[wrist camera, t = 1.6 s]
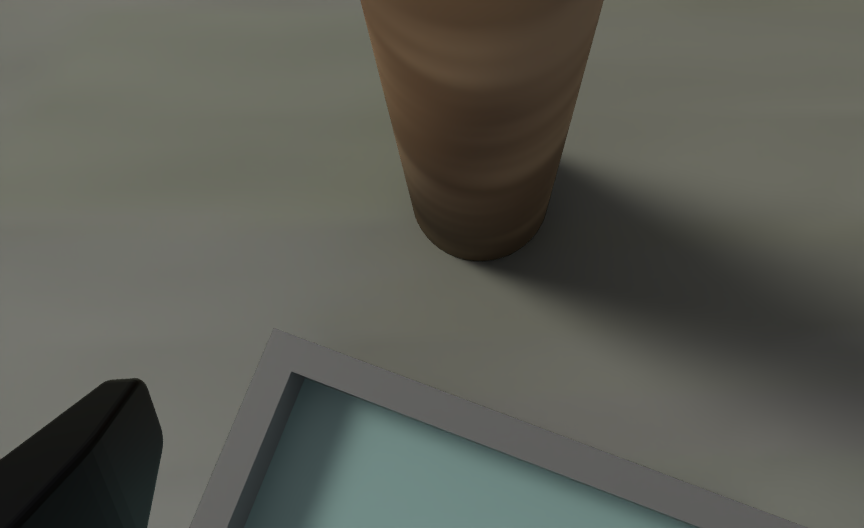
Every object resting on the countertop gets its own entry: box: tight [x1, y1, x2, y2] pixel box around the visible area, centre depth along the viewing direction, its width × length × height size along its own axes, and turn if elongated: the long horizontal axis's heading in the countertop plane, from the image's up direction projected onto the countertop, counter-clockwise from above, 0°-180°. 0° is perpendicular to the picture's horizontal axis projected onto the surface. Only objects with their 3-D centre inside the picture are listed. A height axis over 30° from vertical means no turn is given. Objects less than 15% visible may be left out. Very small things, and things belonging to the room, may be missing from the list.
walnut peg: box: [361, 0, 604, 261], centre depth 17 cm, size 4×4×13 cm
